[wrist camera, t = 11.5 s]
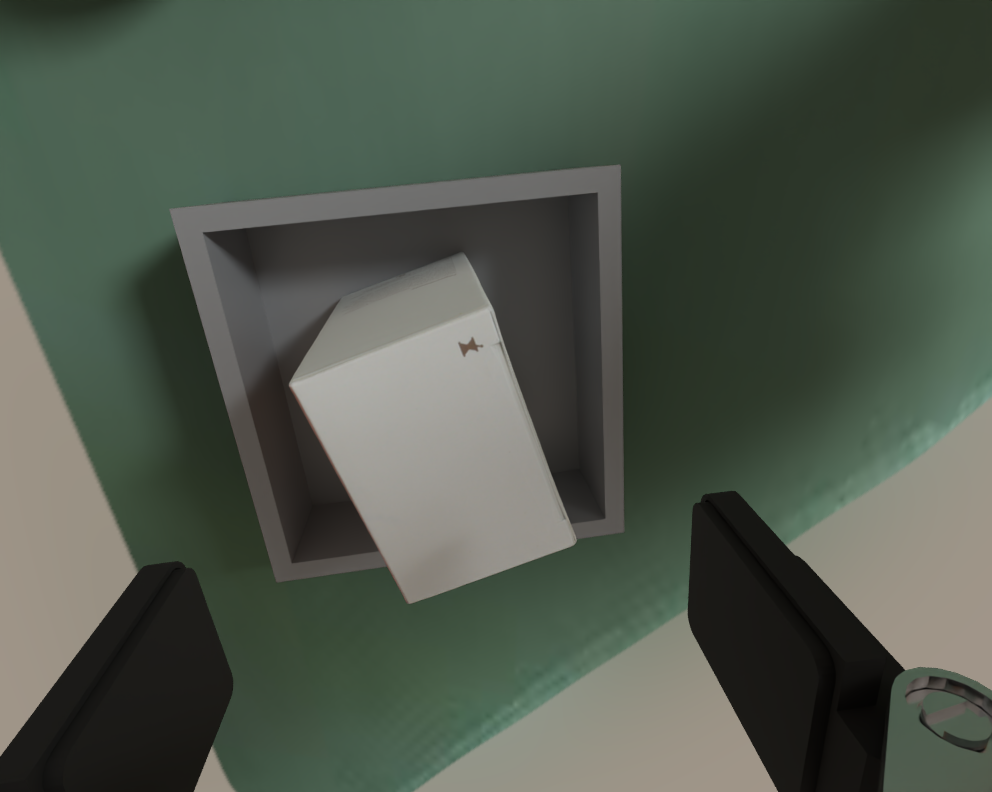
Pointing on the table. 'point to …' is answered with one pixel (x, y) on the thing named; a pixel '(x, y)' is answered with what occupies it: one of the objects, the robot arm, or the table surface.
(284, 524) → the bin
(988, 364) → the table surface
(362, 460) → the small box
